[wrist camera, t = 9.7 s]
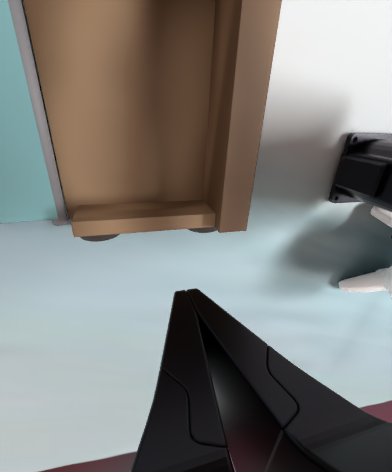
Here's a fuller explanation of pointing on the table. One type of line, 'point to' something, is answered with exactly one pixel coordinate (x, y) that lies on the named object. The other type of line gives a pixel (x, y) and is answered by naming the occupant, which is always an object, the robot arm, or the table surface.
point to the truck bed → (154, 109)
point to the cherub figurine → (375, 280)
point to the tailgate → (24, 130)
